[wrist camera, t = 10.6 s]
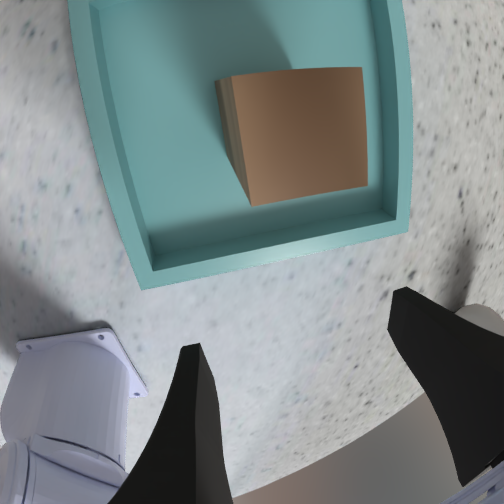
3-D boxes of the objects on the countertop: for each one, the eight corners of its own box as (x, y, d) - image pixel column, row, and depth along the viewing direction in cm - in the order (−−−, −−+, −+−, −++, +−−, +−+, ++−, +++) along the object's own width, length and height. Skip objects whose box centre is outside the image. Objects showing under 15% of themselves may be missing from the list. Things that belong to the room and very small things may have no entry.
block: (227, 157, 16) (251, 206, 10) (214, 81, 14) (231, 76, 8) (302, 144, 16) (368, 186, 10) (294, 70, 14) (361, 66, 8)
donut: (450, 288, 26) (515, 360, 17) (474, 279, 26) (537, 344, 17) (428, 358, 31) (472, 423, 22) (450, 348, 31) (494, 408, 22)
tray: (145, 266, 19) (141, 290, 17) (82, 4, 11) (66, -7, 9) (387, 215, 20) (407, 231, 18) (371, -25, 12) (394, -35, 10)
